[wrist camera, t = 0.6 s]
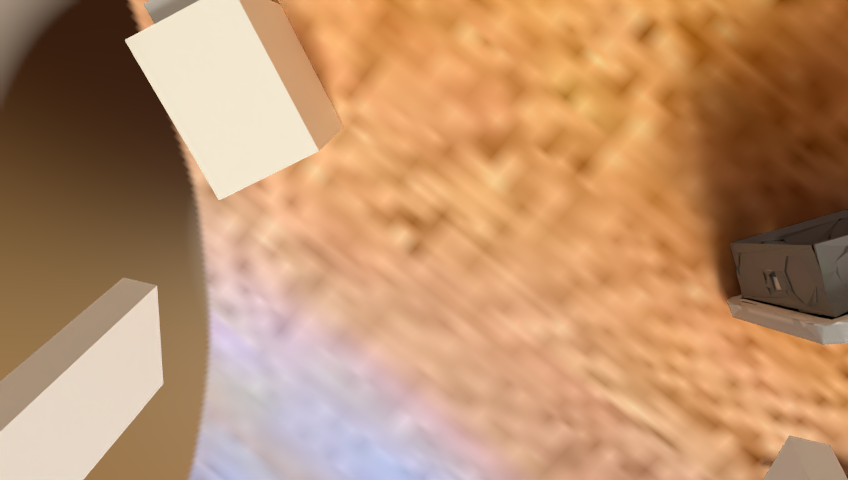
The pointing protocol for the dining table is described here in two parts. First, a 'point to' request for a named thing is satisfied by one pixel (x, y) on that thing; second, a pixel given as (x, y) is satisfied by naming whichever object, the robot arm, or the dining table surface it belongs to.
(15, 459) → the robot arm
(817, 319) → the electrical switch
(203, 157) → the plug
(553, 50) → the dining table surface
